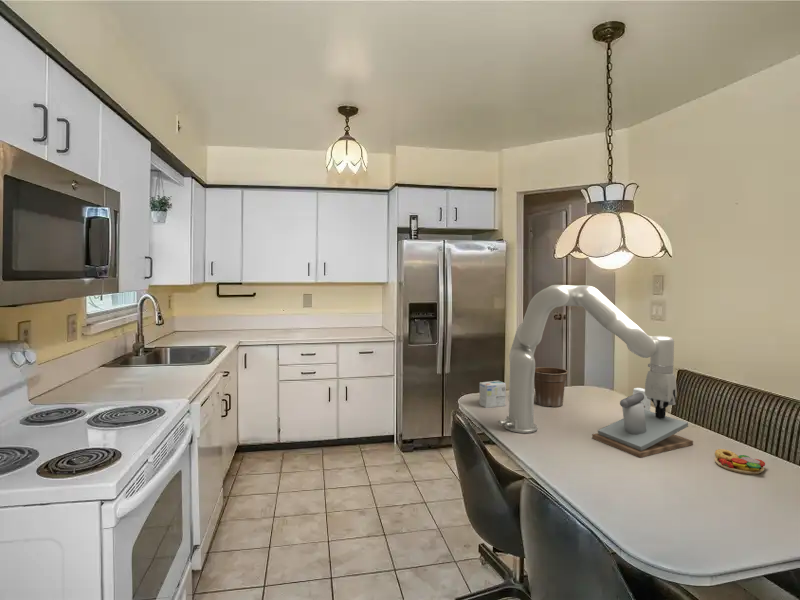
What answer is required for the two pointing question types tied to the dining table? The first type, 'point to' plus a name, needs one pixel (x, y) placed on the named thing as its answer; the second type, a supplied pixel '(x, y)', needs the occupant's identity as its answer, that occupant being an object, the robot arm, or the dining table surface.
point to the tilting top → (640, 425)
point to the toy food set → (738, 462)
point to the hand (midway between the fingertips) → (660, 417)
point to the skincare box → (645, 401)
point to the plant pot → (549, 386)
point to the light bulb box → (492, 394)
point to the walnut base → (662, 446)
